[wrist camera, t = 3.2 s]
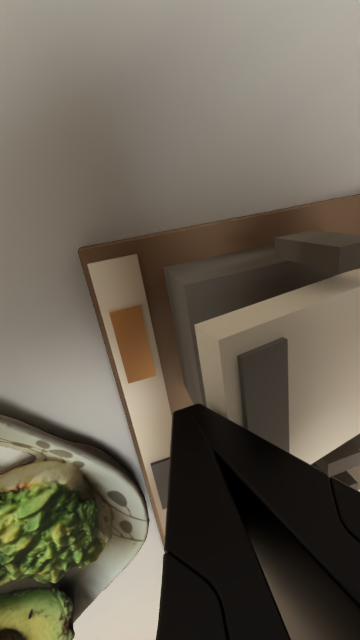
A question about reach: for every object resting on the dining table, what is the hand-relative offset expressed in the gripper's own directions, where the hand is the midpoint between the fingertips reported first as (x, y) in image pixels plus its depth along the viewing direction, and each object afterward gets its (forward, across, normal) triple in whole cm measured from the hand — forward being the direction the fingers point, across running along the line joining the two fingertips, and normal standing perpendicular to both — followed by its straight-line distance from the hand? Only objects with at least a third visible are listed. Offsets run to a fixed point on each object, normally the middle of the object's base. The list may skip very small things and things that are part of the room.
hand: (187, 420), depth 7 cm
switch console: (+6, -5, +8) cm, 11 cm away
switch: (0, -5, 0) cm, 5 cm away
